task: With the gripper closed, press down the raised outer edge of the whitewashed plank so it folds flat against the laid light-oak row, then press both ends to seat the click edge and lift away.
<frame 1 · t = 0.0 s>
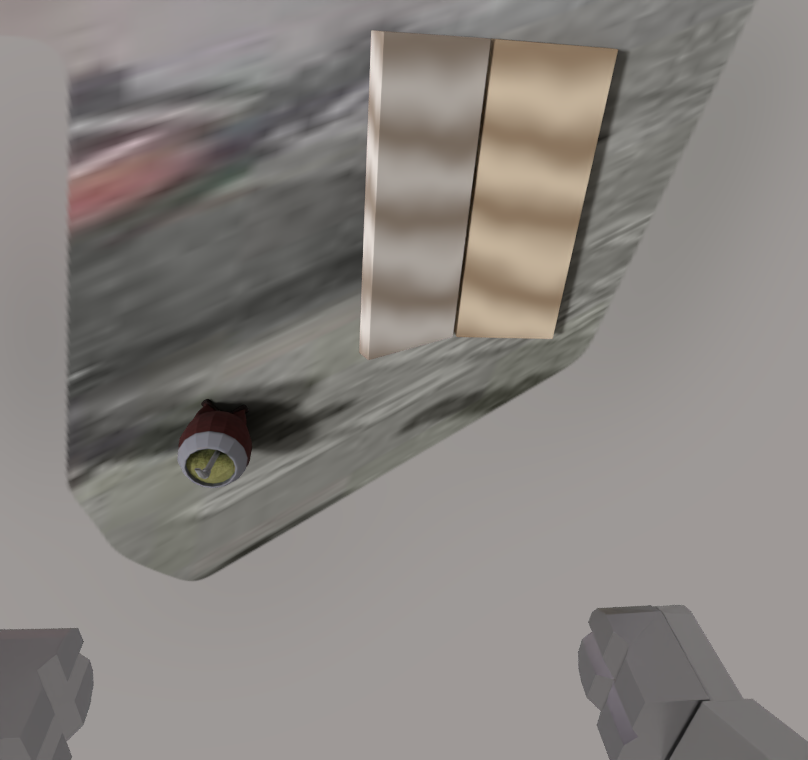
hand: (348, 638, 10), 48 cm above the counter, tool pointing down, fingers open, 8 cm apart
whitewashed plank: (419, 210, 51), point 3 cm above the counter, hinge at 30.0°
laid oak row: (523, 204, 55), on the counter
mate gourd: (222, 415, 64), on the counter
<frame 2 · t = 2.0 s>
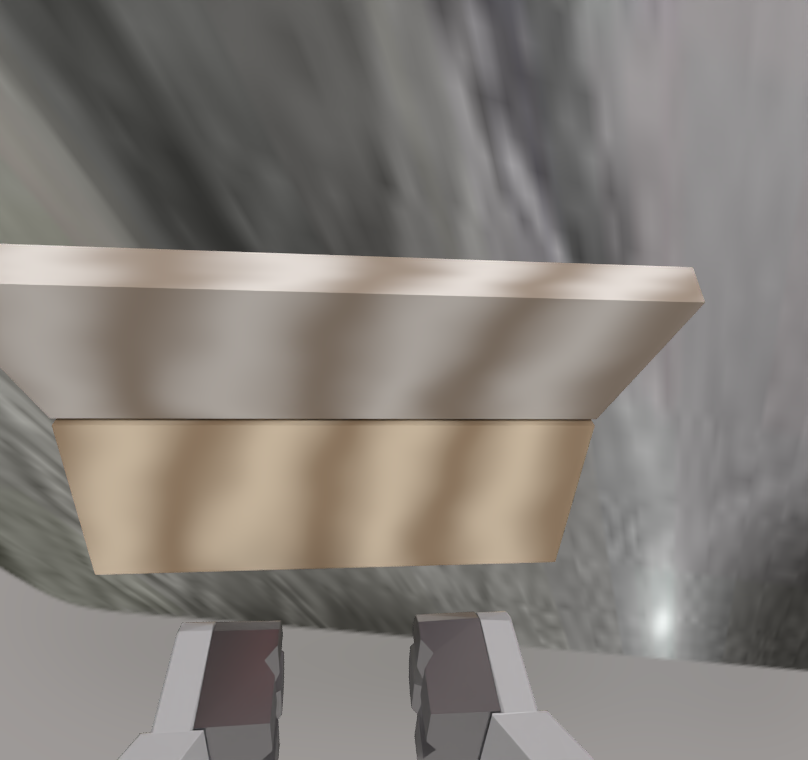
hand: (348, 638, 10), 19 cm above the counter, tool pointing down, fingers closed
whitewashed plank: (339, 350, 25), point 3 cm above the counter, hinge at 30.0°
laid oak row: (336, 482, 33), on the counter
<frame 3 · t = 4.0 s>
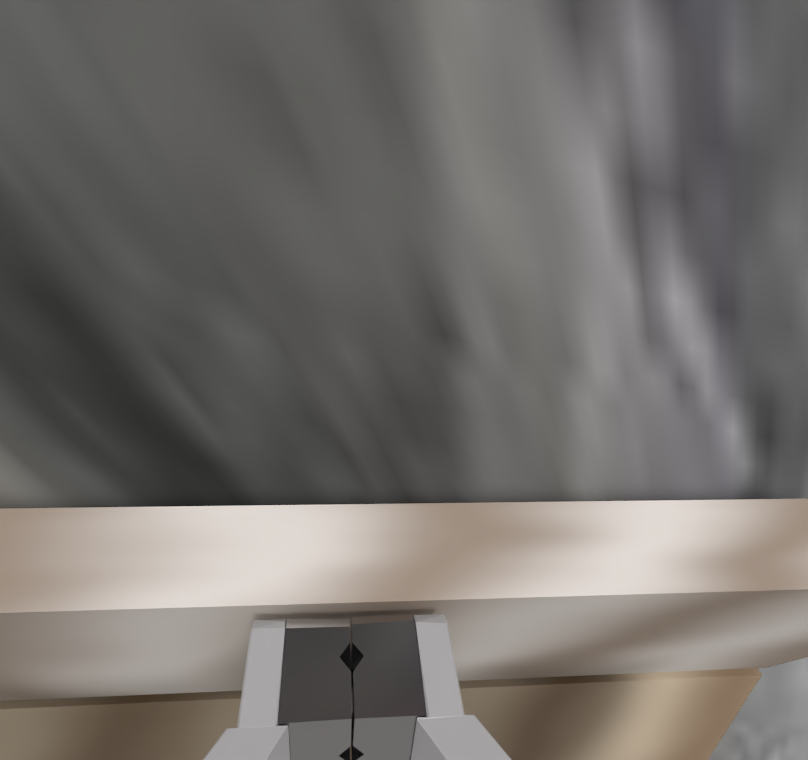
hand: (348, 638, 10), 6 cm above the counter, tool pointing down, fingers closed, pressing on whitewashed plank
whitewashed plank: (358, 619, 14), point 3 cm above the counter, hinge at 24.5°, touching gripper
laid oak row: (350, 729, 22), on the counter
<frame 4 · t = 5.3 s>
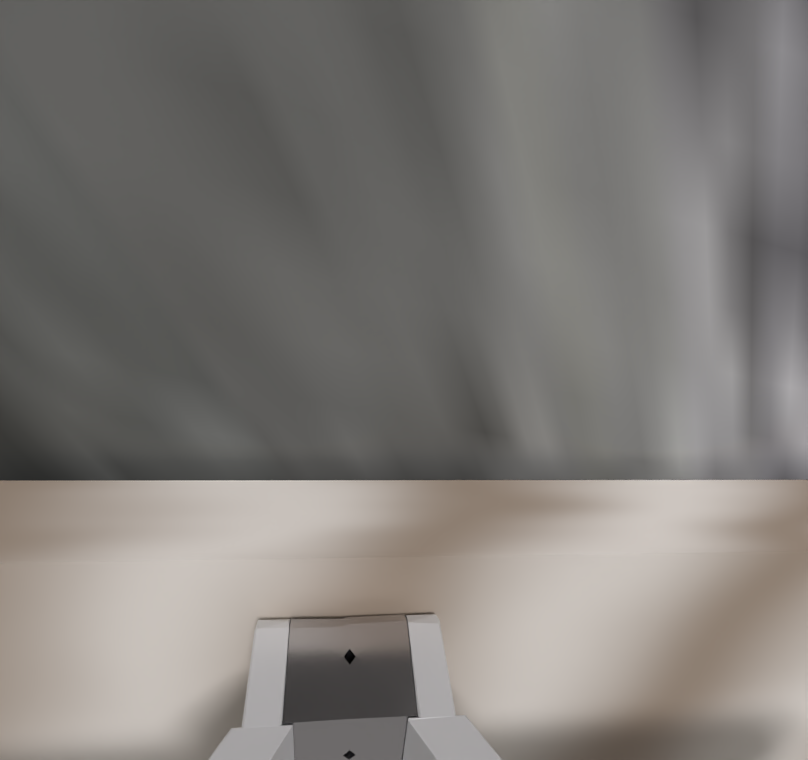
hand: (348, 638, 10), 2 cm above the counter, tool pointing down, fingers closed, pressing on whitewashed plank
whitewashed plank: (365, 690, 12), point 1 cm above the counter, hinge at 2.3°, touching gripper
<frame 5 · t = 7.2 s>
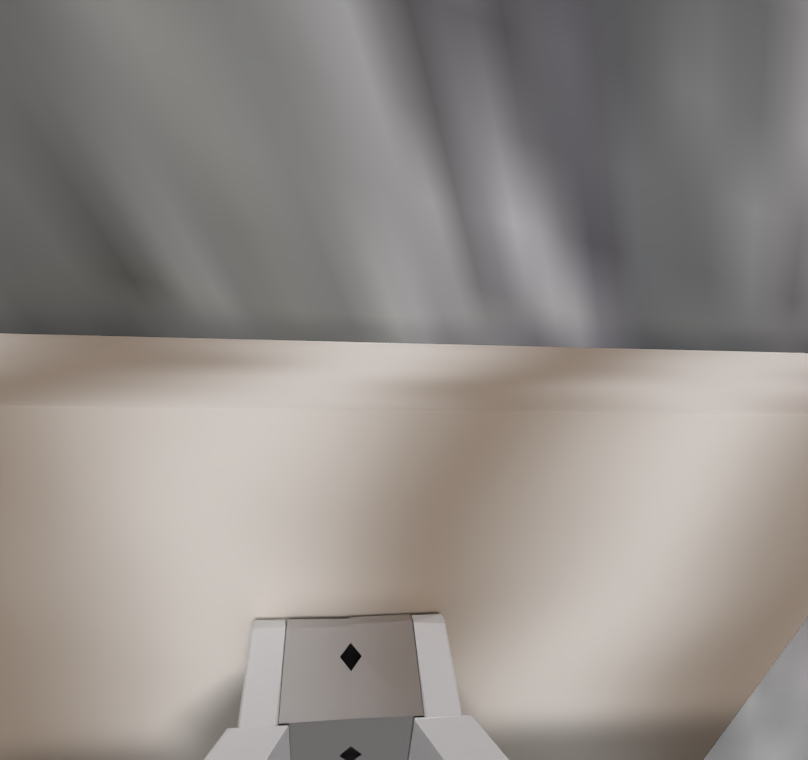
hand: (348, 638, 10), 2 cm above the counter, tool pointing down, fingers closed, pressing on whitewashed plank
whitewashed plank: (51, 618, 10), point 1 cm above the counter, hinge at 2.0°, touching gripper
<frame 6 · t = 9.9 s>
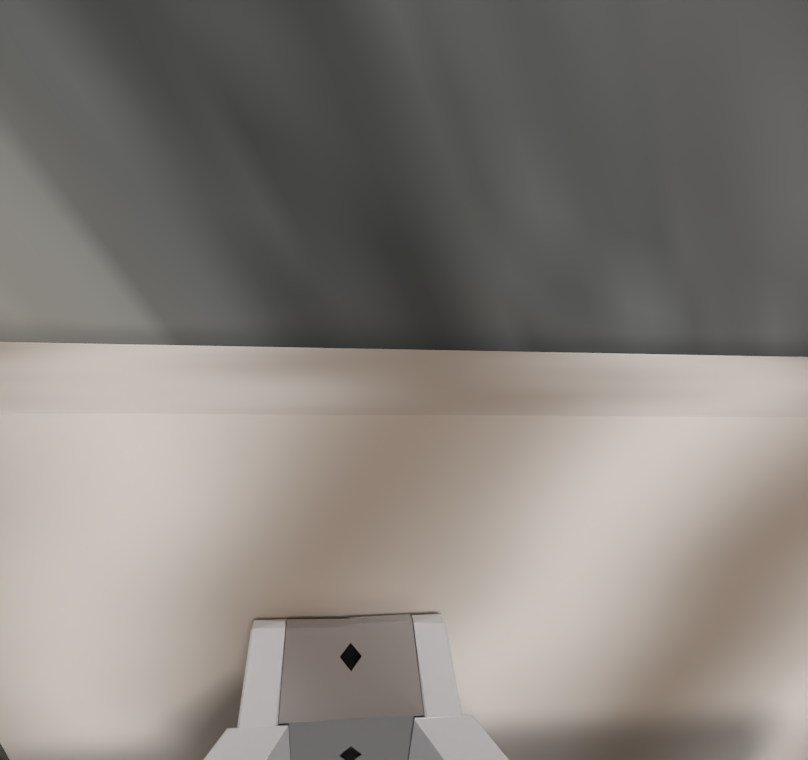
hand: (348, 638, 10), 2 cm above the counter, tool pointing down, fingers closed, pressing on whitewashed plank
whitewashed plank: (714, 602, 11), point 1 cm above the counter, hinge at 1.5°, touching gripper
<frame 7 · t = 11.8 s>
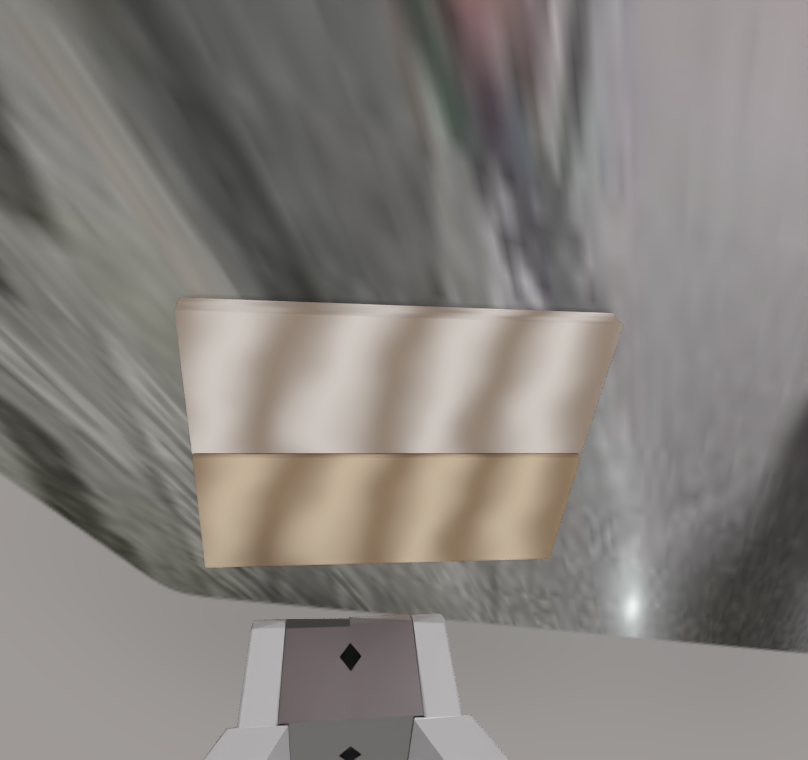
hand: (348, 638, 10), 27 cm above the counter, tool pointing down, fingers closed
whitewashed plank: (401, 383, 38), point 1 cm above the counter, hinge at 1.5°
laid oak row: (387, 498, 44), on the counter
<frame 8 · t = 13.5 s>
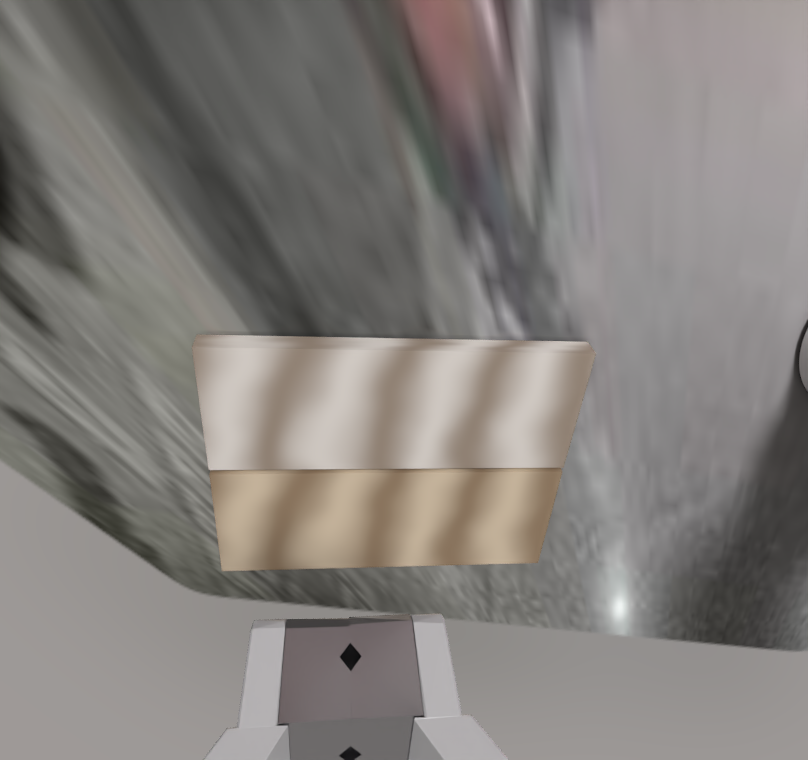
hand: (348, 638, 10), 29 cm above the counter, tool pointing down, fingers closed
whitewashed plank: (395, 406, 42), point 1 cm above the counter, hinge at 1.5°
laid oak row: (386, 508, 48), on the counter
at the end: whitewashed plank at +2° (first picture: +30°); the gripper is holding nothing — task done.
